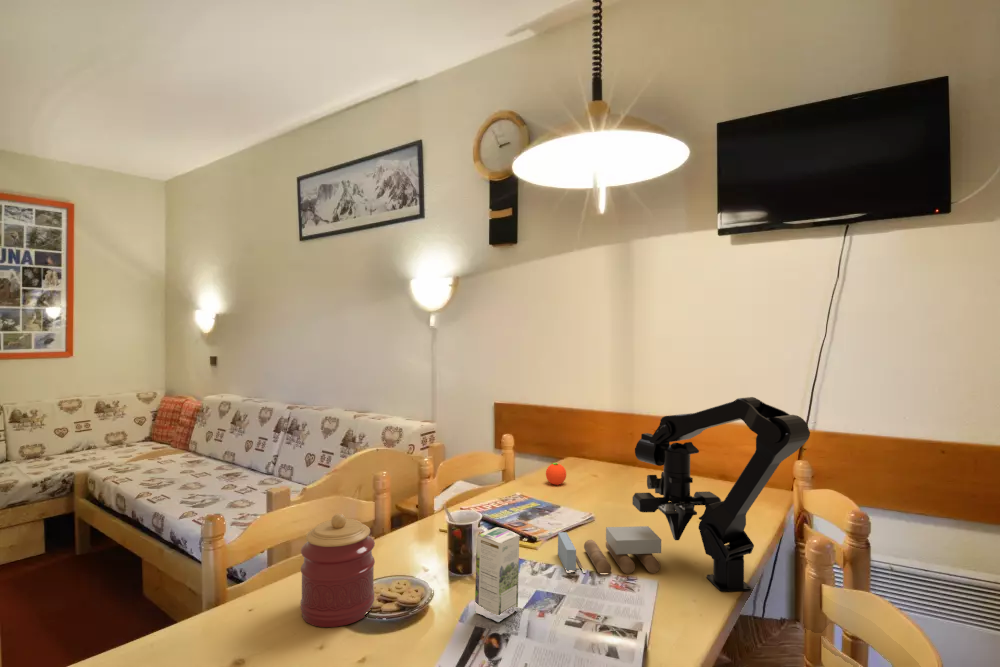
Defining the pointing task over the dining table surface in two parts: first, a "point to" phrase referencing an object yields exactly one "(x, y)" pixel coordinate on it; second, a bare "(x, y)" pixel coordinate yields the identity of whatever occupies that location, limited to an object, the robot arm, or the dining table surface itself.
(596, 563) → the roller
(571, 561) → the bar
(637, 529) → the slab
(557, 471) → the clementine
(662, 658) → the dining table surface
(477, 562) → the syrup box
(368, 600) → the canister
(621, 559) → the roller track
